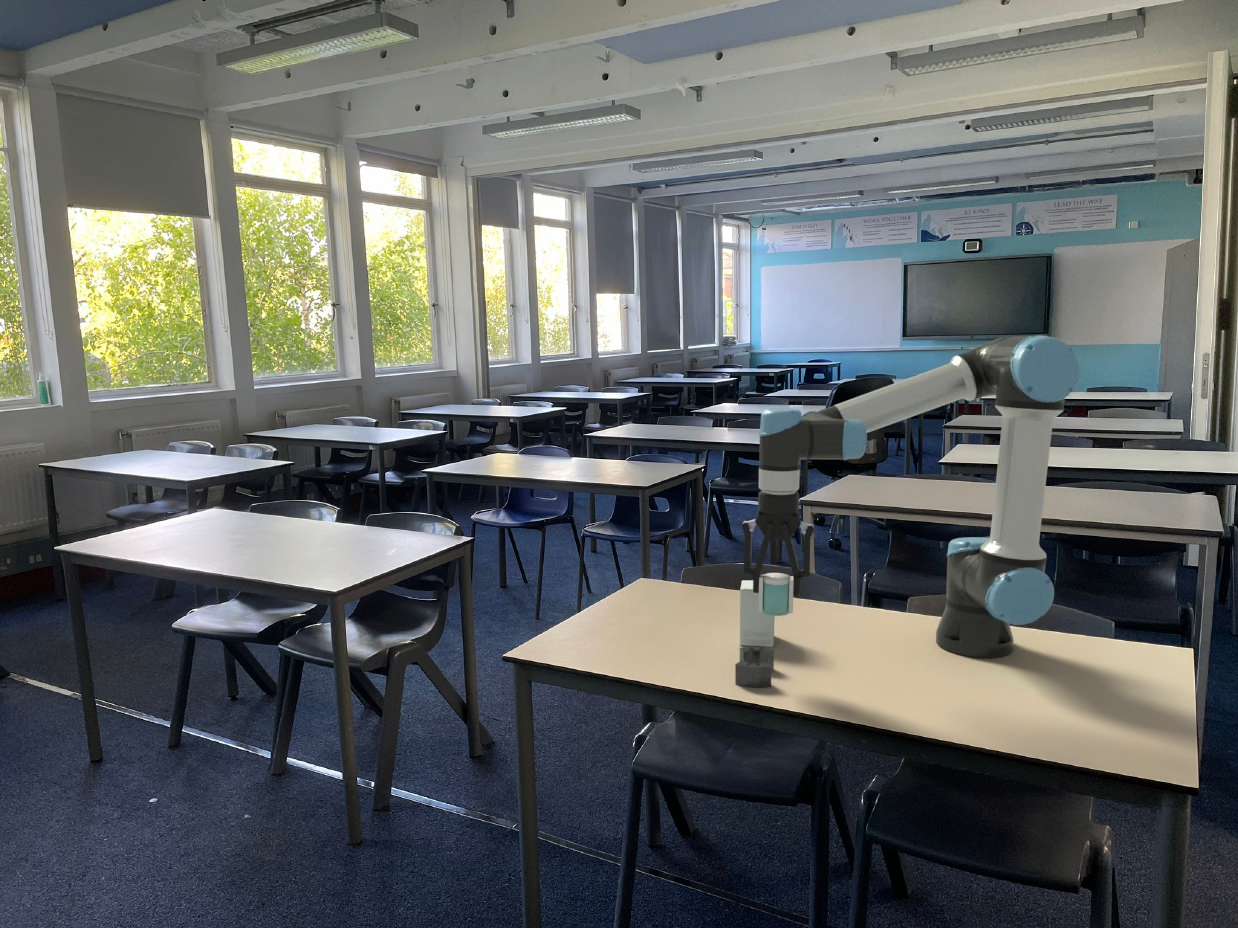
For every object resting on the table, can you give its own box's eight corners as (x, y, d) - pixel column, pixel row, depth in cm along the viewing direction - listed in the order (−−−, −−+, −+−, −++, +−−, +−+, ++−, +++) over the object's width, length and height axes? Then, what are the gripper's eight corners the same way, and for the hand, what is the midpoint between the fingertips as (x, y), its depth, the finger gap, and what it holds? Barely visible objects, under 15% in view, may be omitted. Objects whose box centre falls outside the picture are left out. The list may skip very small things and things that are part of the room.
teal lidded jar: (789, 608, 167) (790, 573, 166) (788, 616, 163) (789, 580, 162) (763, 606, 168) (764, 572, 167) (762, 614, 164) (762, 579, 163)
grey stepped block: (773, 666, 173) (774, 647, 172) (770, 688, 162) (771, 668, 162) (740, 664, 174) (740, 645, 173) (734, 685, 164) (734, 665, 163)
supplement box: (774, 647, 183) (774, 590, 181) (739, 645, 185) (739, 588, 183) (774, 635, 190) (775, 580, 189) (741, 633, 192) (741, 579, 190)
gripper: (827, 489, 164) (823, 607, 167) (732, 485, 168) (730, 601, 171) (828, 496, 156) (823, 619, 160) (728, 492, 160) (726, 612, 164)
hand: (775, 609), depth 166 cm, fingers closed on teal lidded jar, 5 cm apart
